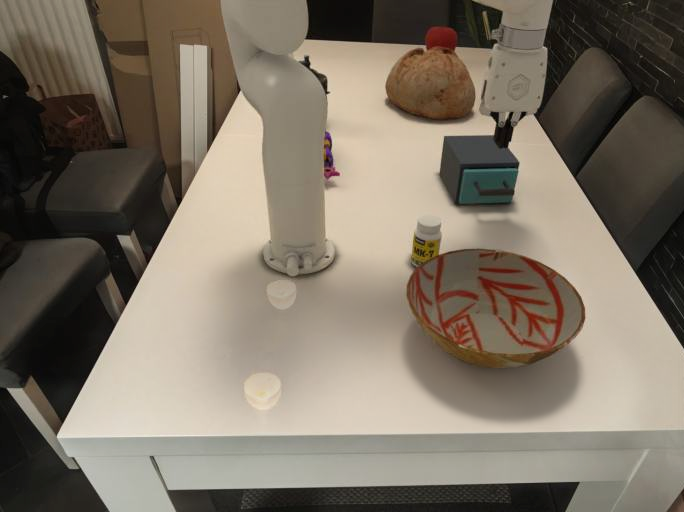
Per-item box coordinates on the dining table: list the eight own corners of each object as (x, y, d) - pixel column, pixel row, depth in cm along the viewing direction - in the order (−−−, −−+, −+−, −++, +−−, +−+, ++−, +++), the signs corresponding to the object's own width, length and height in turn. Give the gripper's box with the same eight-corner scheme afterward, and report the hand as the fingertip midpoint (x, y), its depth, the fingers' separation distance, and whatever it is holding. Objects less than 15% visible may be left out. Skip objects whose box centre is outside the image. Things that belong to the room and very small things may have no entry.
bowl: (544, 289, 93) (556, 249, 87) (593, 399, 74) (612, 357, 69) (397, 287, 92) (400, 246, 86) (409, 399, 73) (414, 356, 68)
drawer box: (510, 202, 116) (519, 162, 110) (454, 204, 114) (460, 163, 108) (491, 172, 126) (498, 134, 120) (439, 174, 125) (444, 135, 119)
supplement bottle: (408, 266, 96) (412, 224, 91) (414, 252, 100) (418, 211, 94) (434, 272, 95) (440, 229, 90) (440, 258, 99) (446, 216, 93)
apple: (459, 62, 193) (464, 24, 185) (446, 68, 186) (450, 30, 178) (432, 56, 197) (435, 19, 189) (417, 62, 190) (421, 24, 182)
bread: (487, 118, 152) (497, 60, 142) (411, 127, 145) (416, 66, 135) (444, 88, 170) (450, 34, 160) (374, 95, 163) (376, 39, 153)
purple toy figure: (336, 142, 136) (335, 90, 127) (340, 189, 117) (339, 131, 109) (276, 142, 134) (272, 90, 126) (271, 189, 116) (266, 131, 108)
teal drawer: (519, 213, 110) (527, 181, 106) (466, 215, 109) (471, 183, 104) (493, 174, 123) (498, 144, 119) (445, 175, 122) (449, 145, 117)
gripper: (484, 43, 88) (468, 155, 100) (573, 43, 89) (545, 152, 102) (472, 31, 93) (457, 138, 105) (555, 31, 95) (531, 137, 107)
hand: (501, 145), depth 104 cm, fingers closed
